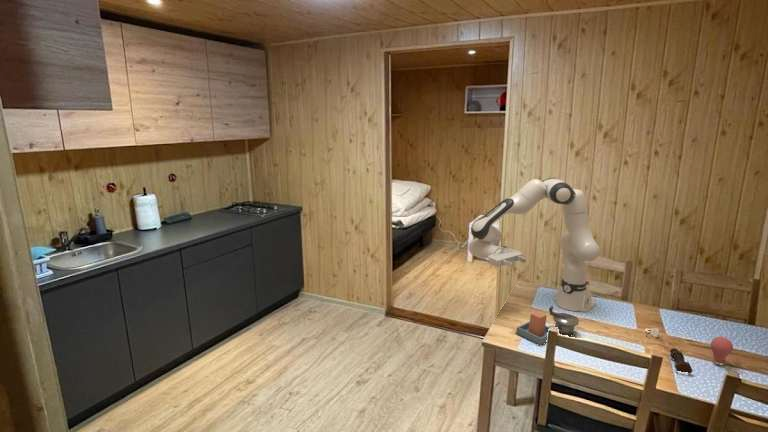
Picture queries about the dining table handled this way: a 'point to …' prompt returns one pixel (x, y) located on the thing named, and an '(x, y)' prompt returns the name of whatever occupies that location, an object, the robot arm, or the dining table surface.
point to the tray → (529, 336)
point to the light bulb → (721, 348)
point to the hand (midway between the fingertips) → (519, 262)
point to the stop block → (537, 323)
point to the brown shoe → (680, 361)
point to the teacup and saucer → (653, 331)
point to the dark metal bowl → (564, 322)
